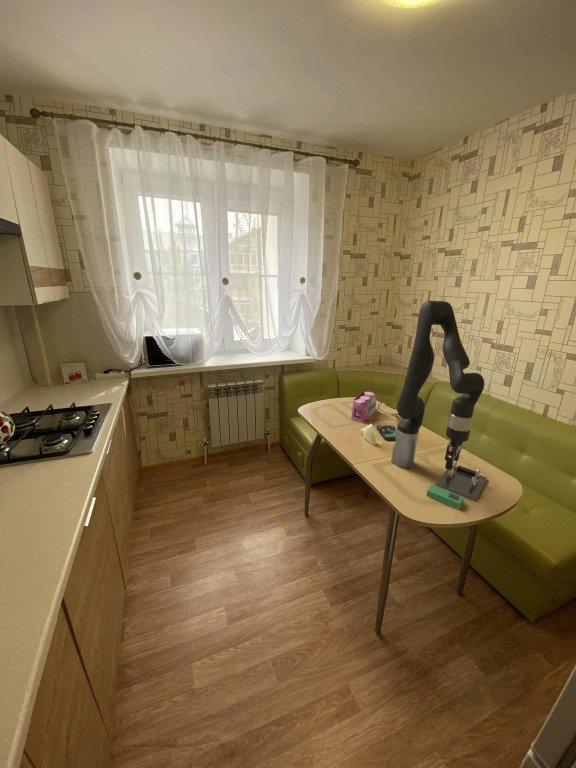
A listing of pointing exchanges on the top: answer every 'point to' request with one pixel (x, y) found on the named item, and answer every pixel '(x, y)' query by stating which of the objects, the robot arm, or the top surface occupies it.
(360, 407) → the pink multipack of cans
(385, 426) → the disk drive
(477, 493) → the chassis
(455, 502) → the board
